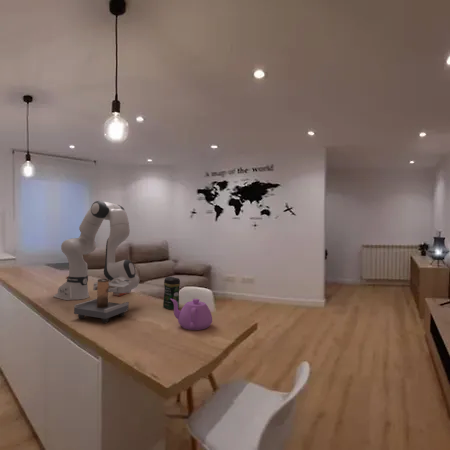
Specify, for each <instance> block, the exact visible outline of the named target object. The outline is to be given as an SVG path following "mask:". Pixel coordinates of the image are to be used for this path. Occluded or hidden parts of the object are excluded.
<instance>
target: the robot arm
mask: <svg viewBox="0 0 450 450" xmlns="http://www.w3.org/2000/svg"><path fill="white" fill-rule="evenodd" d="M104 220H105V221H109V229H110V232H109V236H108V238H107V239H106V246H105V259H104V267H103V275H104V277H105V279H109V289H108V293H113V292H114V293H116V294H119V293H127V294H129V293H132V290H133V289H135V288H137V287H138V286H139V284H140V277H139V276H138V274H136V267H135V265H134V263H133V262H132V261H131V260H130V259H123V260H120V261H119V260H118V261H116V253H117V252H116V251H117V248H118V247H119V246H120V245H121V244H122V243H123V242H125V241H126V240H127V239H128V237H129V236H130V222H129V218H128V215H127V212H126V210H125V208H124V207H123V206H121V205H120V204H116V203H113V202H110V201H109V202H107V201H103V200H96V201H94V202H93V203H92V204H91V207H89V209H88V211H87V212H86V214H85V216H84V217H83V219H82V221H81V223H80V225H79V226H78V230H79V232H80V236H78V237H77V238H76V237H74V238H68V239H65V240H63V242H62V243H61V245H60V248H61V250H60V251H61V252H62V253H63V254H64V255H65V256H66V259H67V261H68V276H66V277H65V280H66V281H65V282H64V283H62V285H60V286H59V287H58V288H57V293H56V294H53V298H55V299H56V298H57V299H61V300H64V301H72V300H73V301H74V300H77V301H78V300H84V299H87V298H90V295H89V287H88V281H89V275H88V269H89V268H88V263H87V262H86V261H85V260H84V255H88V254H91V253H93V252H94V251H95V250H96V248H97V244H96V241H95V240H96V236H97V233H98V231H99V229H100V227H101V225H102V223H103V221H104ZM97 285H98V281H97V282H94V283H93V291H97Z"/></svg>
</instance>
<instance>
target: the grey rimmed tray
mask: <svg viewBox="0 0 450 450" xmlns="http://www.w3.org/2000/svg"><path fill="white" fill-rule="evenodd" d="M73 305H74V306H73V307H74V308H73V314H74V315H77V317H78V319H79V320H83V319H85V318H86V317H92V318H99V319H101V322H102V323H103V324H105V323H106V324H107V323H108V322H109V320H110V318H113V317H115V316H117V315H118V317H124V316H125V314H126V312H127V311H129V301H124V302H123V303H117V302H110V301H108V307H103V308H99V307H97V298H94V299H91V300H87V301H84V302H80V303H77V304H73Z"/></svg>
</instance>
